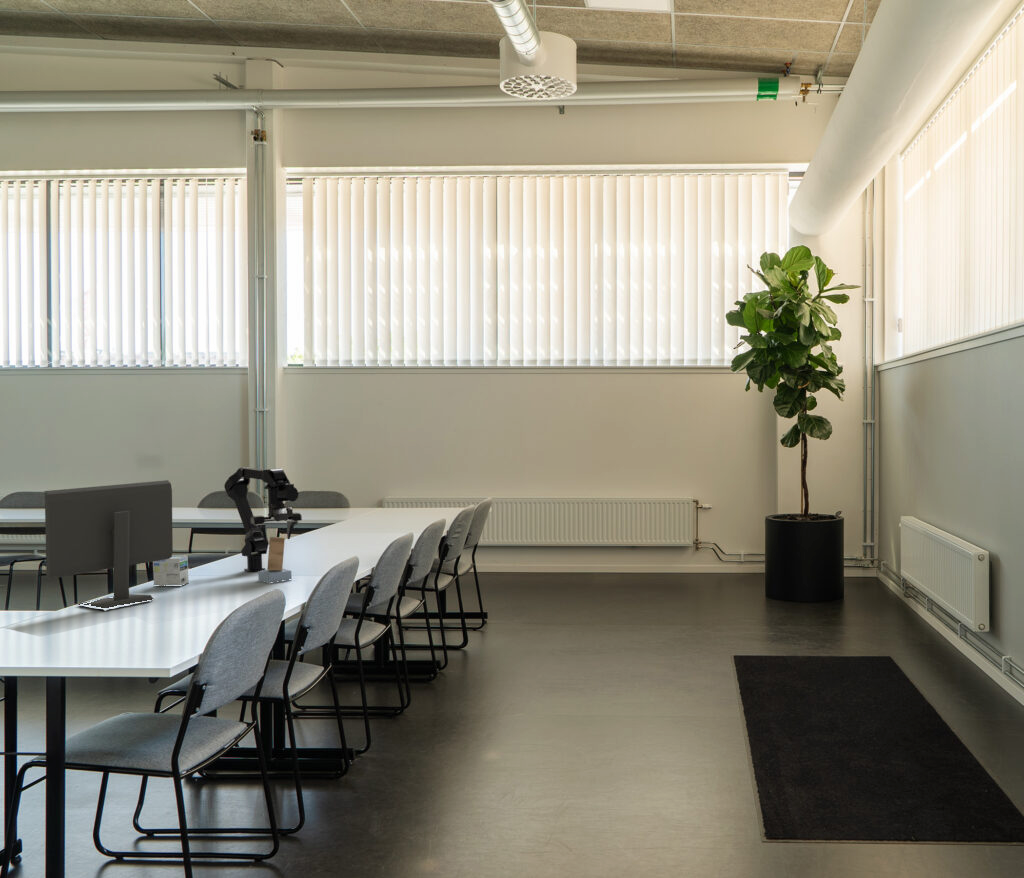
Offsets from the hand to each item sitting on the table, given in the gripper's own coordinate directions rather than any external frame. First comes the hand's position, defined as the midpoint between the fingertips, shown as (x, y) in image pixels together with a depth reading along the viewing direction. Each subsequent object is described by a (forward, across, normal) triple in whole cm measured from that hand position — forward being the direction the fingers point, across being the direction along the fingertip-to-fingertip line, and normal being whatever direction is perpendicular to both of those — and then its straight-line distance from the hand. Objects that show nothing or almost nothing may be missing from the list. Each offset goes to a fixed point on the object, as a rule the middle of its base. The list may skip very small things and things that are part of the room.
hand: (277, 540), depth 354 cm
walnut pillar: (+9, -6, -14) cm, 17 cm away
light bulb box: (+13, -40, +1) cm, 42 cm away
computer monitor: (+13, -62, -22) cm, 67 cm away
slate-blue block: (+13, -6, -14) cm, 20 cm away
